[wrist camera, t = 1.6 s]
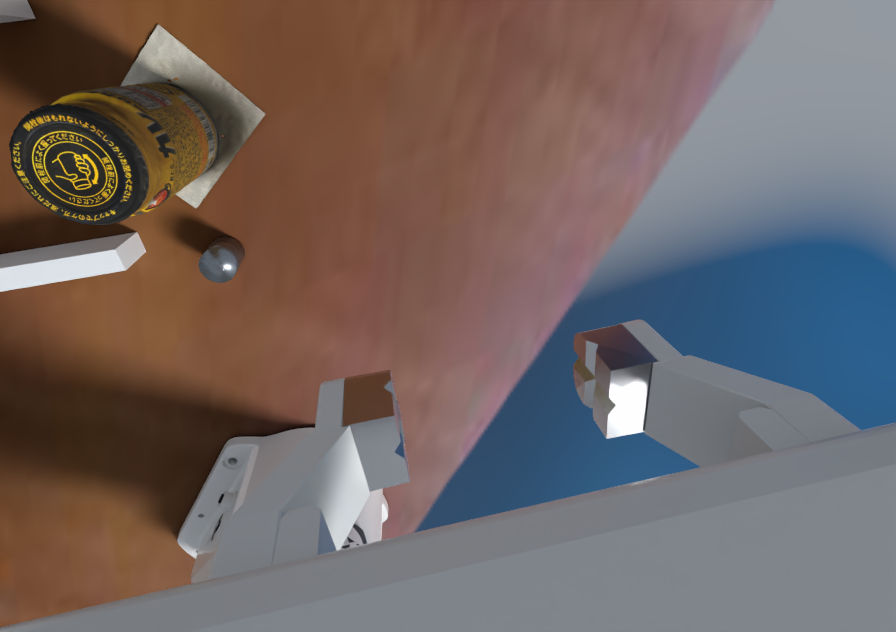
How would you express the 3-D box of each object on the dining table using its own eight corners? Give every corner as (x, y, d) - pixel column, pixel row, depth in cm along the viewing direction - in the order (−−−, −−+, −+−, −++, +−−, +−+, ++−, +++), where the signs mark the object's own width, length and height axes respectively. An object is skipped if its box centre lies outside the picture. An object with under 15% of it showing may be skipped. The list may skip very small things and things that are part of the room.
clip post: (233, 272, 36) (223, 288, 34) (204, 253, 35) (191, 269, 32) (251, 249, 36) (242, 264, 33) (221, 229, 34) (210, 243, 32)
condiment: (90, 134, 30) (-49, 176, 20) (159, 24, 28) (43, 6, 18) (197, 207, 34) (126, 275, 23) (266, 113, 31) (221, 141, 21)
